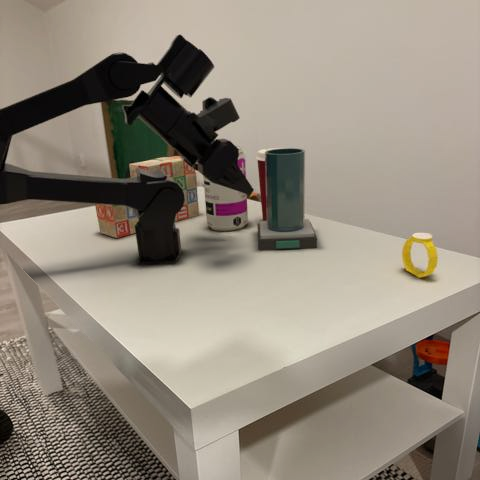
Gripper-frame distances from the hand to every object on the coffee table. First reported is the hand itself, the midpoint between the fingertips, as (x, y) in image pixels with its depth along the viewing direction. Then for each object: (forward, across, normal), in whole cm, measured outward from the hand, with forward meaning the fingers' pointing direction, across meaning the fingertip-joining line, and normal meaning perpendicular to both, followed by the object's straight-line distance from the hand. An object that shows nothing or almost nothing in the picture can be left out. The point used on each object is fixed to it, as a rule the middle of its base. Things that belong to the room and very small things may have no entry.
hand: (243, 187), depth 86 cm
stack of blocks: (-2, +23, +17) cm, 28 cm away
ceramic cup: (+11, 0, 0) cm, 11 cm away
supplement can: (+8, +14, +7) cm, 17 cm away
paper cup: (+15, +12, 0) cm, 19 cm away
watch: (+21, -24, -6) cm, 32 cm away
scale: (+13, 0, +2) cm, 13 cm away
